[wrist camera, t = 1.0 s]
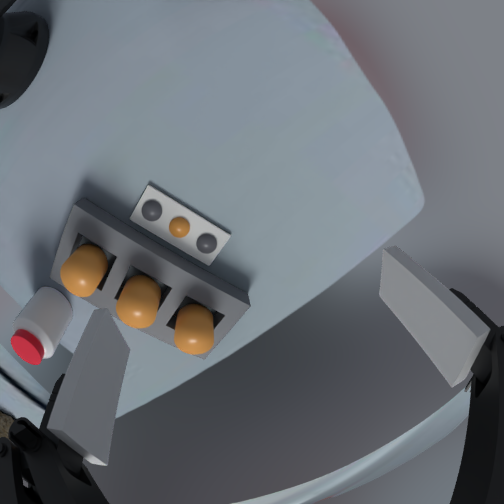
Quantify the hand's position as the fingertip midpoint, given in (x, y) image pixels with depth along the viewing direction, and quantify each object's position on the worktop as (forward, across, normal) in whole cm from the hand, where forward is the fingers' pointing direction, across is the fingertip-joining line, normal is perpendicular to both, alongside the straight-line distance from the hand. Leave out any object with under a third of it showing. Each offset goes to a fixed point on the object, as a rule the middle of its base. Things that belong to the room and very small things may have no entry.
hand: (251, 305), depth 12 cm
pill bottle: (+23, -32, -11) cm, 41 cm away
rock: (+23, -91, -50) cm, 107 cm away
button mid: (+20, -13, -10) cm, 26 cm away
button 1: (+20, -8, -16) cm, 27 cm away
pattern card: (+23, -6, -3) cm, 24 cm away
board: (+23, -13, -10) cm, 28 cm away
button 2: (+20, -19, -4) cm, 28 cm away
